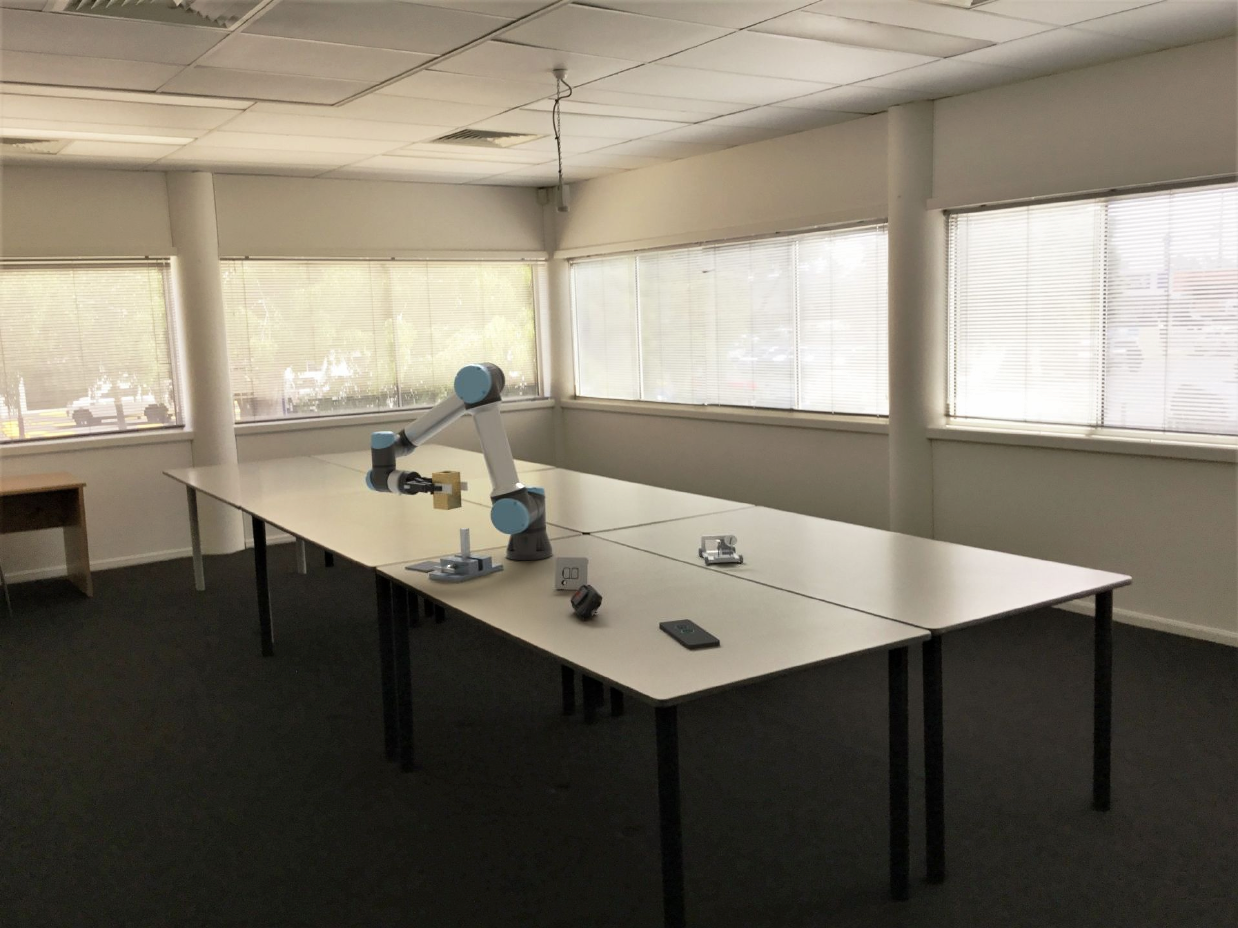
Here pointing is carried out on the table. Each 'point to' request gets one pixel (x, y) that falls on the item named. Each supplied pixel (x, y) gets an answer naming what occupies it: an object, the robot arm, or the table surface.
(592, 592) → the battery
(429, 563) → the rubber mat
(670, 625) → the smart home device
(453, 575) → the vise
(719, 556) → the grey toy rover
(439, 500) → the brass sleeve
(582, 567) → the electrical switch
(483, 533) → the table surface
